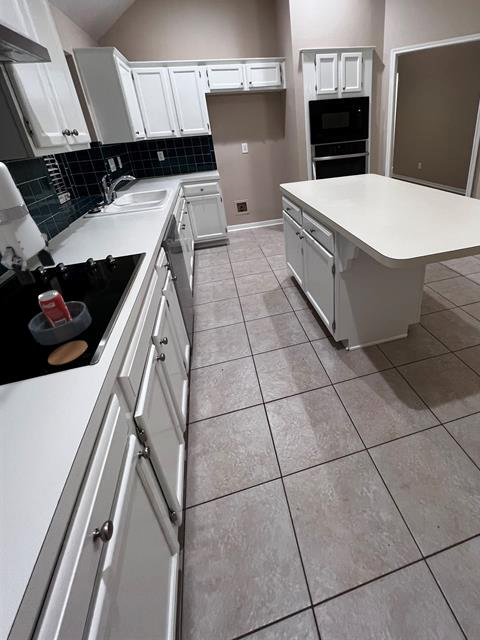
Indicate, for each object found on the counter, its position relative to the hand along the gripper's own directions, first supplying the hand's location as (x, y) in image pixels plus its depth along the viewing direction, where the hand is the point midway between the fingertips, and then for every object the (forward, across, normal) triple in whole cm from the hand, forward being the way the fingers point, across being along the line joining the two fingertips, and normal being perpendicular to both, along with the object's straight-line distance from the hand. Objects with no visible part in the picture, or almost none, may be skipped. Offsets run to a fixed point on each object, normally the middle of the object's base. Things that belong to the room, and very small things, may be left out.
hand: (39, 274), depth 85 cm
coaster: (+19, +12, +6) cm, 23 cm away
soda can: (+18, 0, 0) cm, 19 cm away
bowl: (+19, 0, 0) cm, 19 cm away
